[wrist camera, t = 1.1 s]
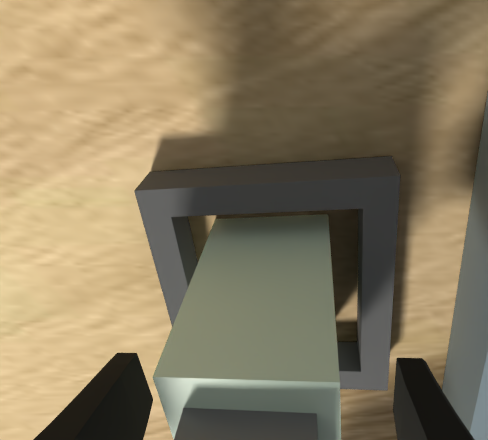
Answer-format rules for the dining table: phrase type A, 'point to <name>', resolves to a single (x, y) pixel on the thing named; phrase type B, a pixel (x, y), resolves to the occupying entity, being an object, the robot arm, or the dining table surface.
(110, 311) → the dining table surface
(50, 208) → the dining table surface
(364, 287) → the grey rectangular frame
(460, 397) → the port block
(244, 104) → the dining table surface
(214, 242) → the plug
